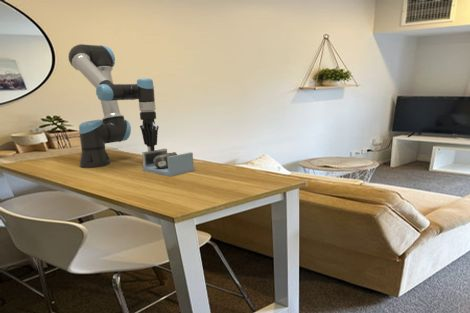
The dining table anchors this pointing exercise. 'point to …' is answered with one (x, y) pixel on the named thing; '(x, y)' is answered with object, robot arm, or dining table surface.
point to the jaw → (152, 156)
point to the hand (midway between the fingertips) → (151, 159)
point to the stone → (163, 160)
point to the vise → (174, 165)
